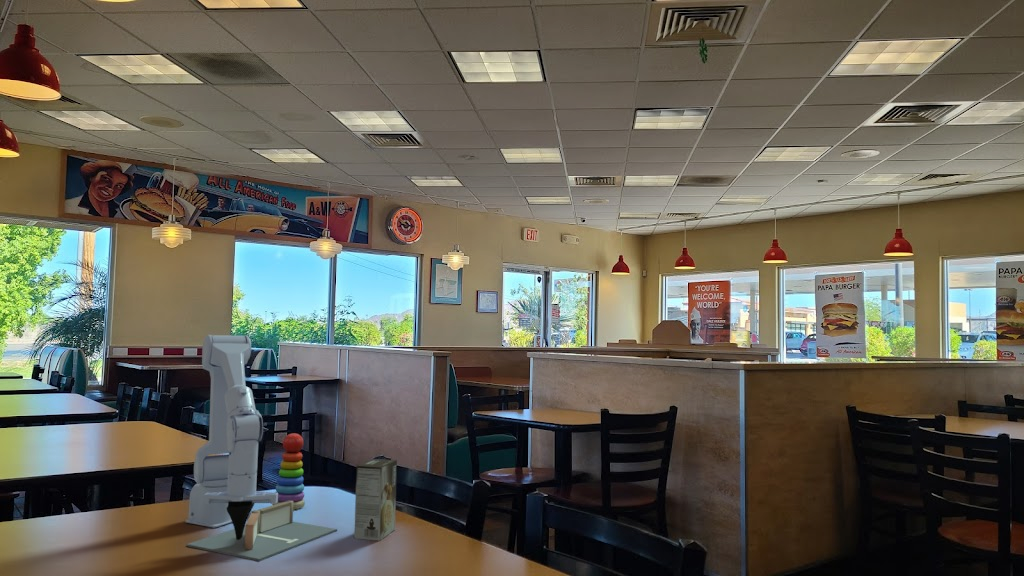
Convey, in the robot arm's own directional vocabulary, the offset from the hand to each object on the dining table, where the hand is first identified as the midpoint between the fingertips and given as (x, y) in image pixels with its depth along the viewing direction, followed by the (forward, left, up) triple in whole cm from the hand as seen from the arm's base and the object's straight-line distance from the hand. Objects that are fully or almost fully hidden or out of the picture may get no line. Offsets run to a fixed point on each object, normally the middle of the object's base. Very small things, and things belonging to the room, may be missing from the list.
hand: (239, 538), depth 148 cm
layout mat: (0, +7, -2) cm, 8 cm away
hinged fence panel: (+1, +2, -1) cm, 3 cm away
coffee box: (+19, +21, -2) cm, 29 cm away
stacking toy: (-14, +30, -2) cm, 33 cm away
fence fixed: (-3, +13, -2) cm, 13 cm away
